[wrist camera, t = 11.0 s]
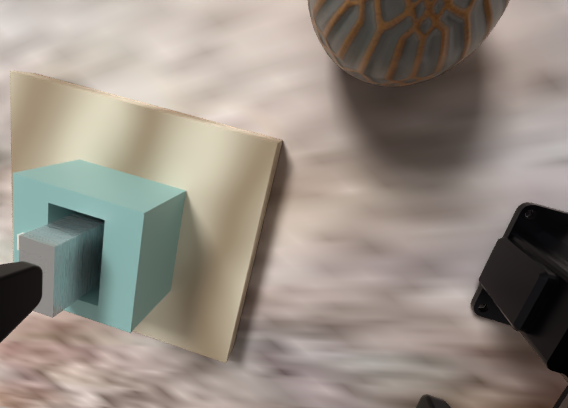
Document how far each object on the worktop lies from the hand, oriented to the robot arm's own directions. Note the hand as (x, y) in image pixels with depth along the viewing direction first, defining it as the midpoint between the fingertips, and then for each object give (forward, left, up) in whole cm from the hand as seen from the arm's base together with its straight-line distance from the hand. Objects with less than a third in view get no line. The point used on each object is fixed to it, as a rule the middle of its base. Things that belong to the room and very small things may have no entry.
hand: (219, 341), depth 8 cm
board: (+9, +4, -12) cm, 16 cm away
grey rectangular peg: (+9, +4, -11) cm, 14 cm away
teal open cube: (+9, +4, -10) cm, 14 cm away
